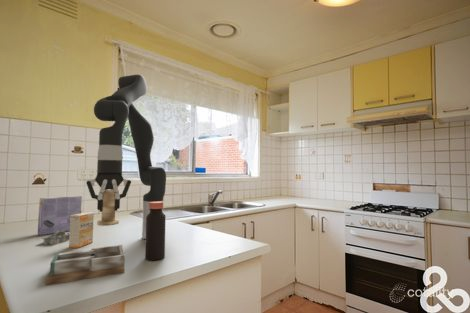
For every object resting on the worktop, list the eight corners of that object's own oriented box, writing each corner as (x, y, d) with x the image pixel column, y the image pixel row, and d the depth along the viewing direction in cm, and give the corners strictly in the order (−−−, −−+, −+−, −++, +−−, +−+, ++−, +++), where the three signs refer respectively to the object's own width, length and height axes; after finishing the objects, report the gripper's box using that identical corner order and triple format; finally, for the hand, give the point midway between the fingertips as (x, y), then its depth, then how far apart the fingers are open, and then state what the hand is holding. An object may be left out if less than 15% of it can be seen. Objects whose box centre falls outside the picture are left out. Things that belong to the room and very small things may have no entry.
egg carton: (60, 238, 122) (61, 229, 122) (74, 239, 120) (74, 230, 120) (39, 244, 111) (39, 234, 112) (54, 245, 110) (54, 235, 110)
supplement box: (78, 248, 106) (79, 215, 107) (68, 247, 107) (69, 215, 108) (93, 242, 114) (94, 212, 115) (83, 242, 115) (84, 211, 116)
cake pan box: (78, 227, 143) (79, 195, 144) (83, 228, 140) (84, 195, 141) (36, 234, 128) (38, 197, 129) (40, 236, 125) (42, 198, 126)
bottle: (154, 262, 90) (155, 203, 91) (141, 258, 94) (142, 202, 95) (168, 256, 96) (169, 201, 97) (156, 253, 100) (157, 200, 101)
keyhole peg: (118, 221, 91) (119, 189, 92) (119, 224, 85) (120, 190, 86) (97, 222, 88) (98, 189, 89) (96, 226, 83) (98, 191, 83)
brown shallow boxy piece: (121, 257, 95) (121, 243, 96) (124, 272, 81) (124, 256, 81) (54, 265, 86) (55, 251, 87) (45, 285, 72) (46, 267, 72)
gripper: (131, 160, 94) (130, 208, 94) (86, 159, 88) (84, 210, 87) (133, 159, 88) (132, 211, 87) (85, 158, 81) (82, 214, 80)
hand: (108, 210), depth 87 cm, fingers closed on keyhole peg, 4 cm apart
